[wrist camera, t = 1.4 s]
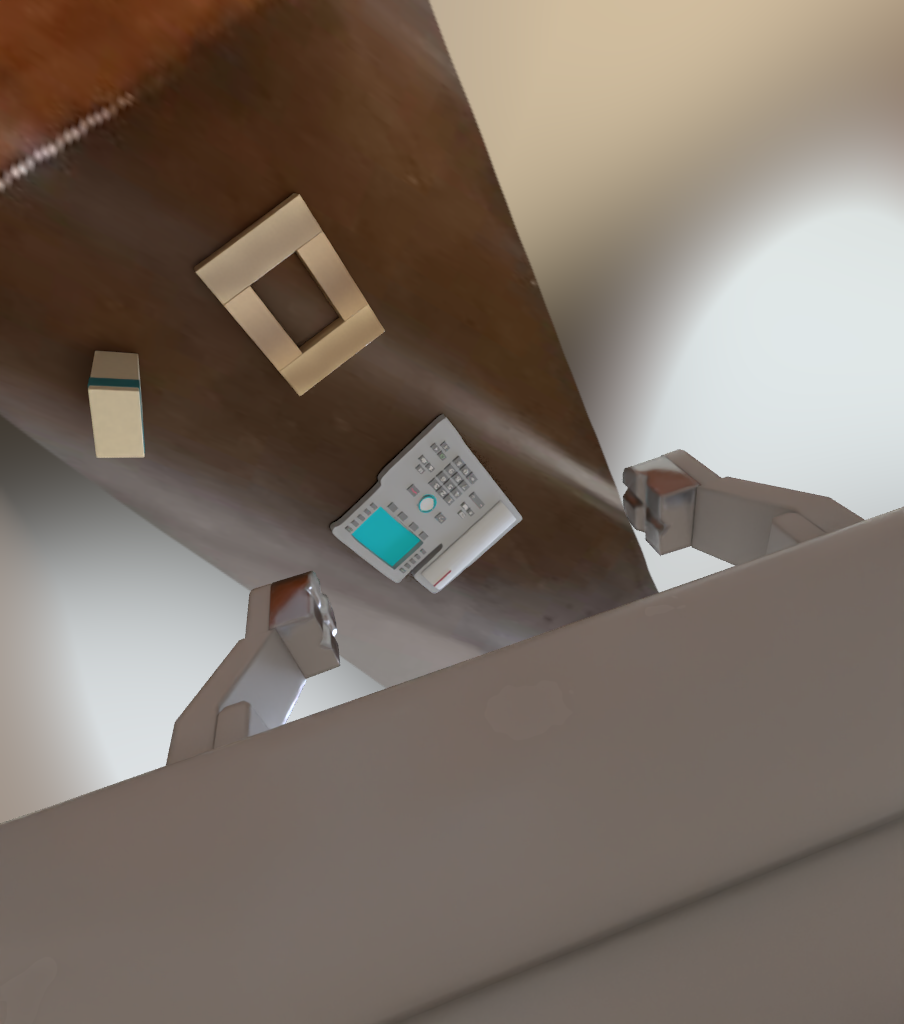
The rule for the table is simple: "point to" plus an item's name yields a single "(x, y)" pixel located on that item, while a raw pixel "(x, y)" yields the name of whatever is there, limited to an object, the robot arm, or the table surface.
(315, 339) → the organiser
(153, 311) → the table surface
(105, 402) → the box
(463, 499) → the office telephone
